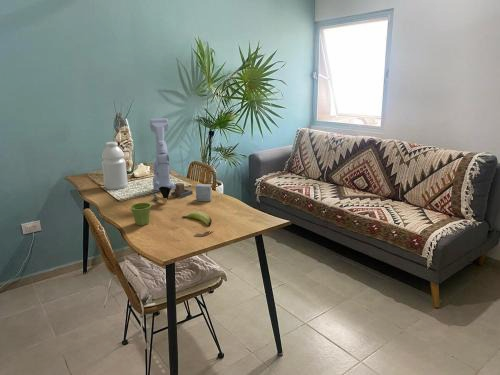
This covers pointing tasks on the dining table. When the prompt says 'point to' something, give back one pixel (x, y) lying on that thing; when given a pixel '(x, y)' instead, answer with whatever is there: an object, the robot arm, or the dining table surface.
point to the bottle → (114, 167)
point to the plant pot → (141, 213)
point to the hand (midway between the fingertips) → (166, 199)
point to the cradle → (187, 192)
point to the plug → (179, 189)
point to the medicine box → (203, 192)
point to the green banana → (201, 217)
